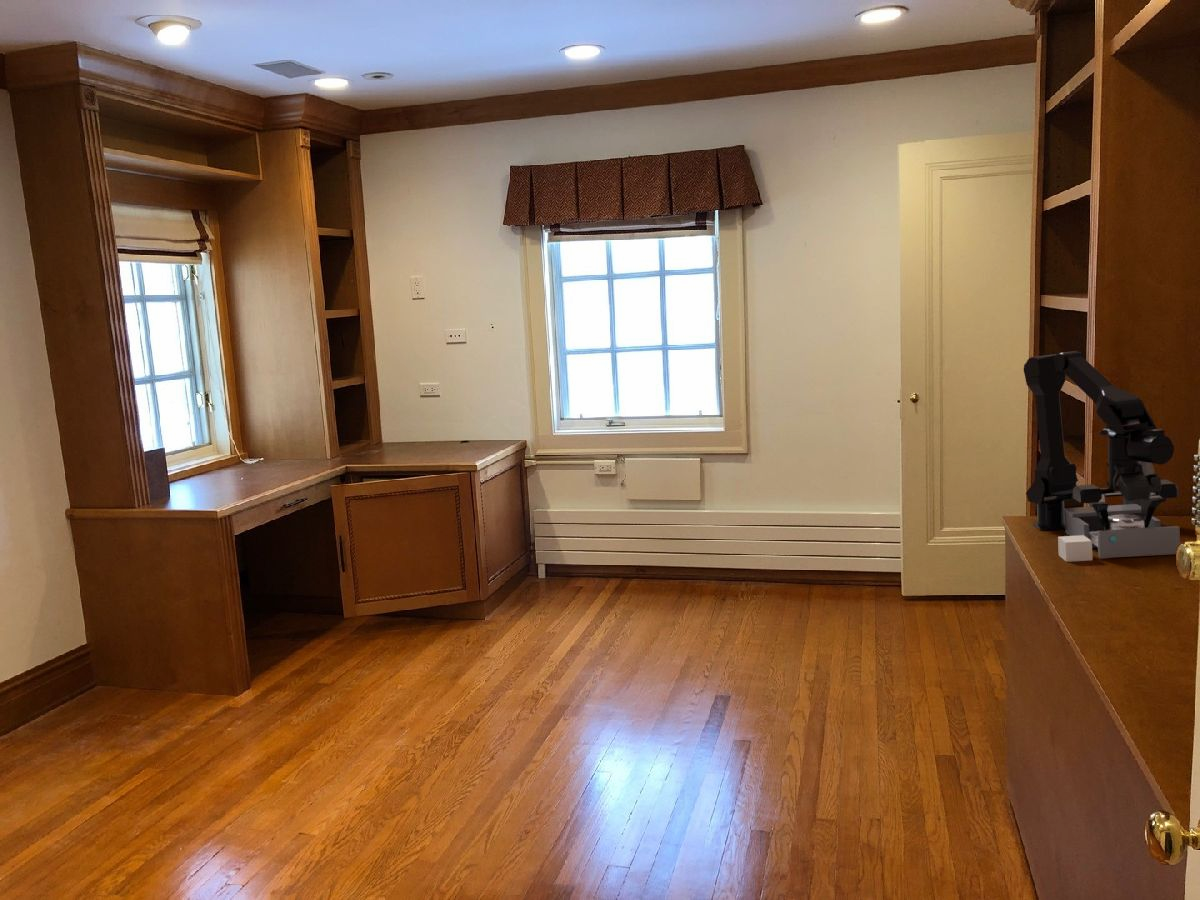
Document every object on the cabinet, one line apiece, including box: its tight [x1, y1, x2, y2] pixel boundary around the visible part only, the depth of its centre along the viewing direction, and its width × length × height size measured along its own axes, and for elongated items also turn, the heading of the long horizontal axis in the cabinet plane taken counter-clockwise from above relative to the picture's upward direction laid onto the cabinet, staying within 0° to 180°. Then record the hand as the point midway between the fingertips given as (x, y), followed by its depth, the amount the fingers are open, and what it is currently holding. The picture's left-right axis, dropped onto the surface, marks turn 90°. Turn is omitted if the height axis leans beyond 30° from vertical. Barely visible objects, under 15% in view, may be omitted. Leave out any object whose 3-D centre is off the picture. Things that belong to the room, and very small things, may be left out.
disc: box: [1108, 514, 1145, 530], centre depth 203 cm, size 7×7×2 cm
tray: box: [1089, 525, 1181, 559], centre depth 203 cm, size 14×15×6 cm
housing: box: [1064, 504, 1162, 549], centre depth 212 cm, size 13×15×6 cm
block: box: [1057, 535, 1093, 563], centre depth 201 cm, size 5×5×4 cm
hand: (1125, 532), depth 204 cm, fingers closed on disc, 7 cm apart
